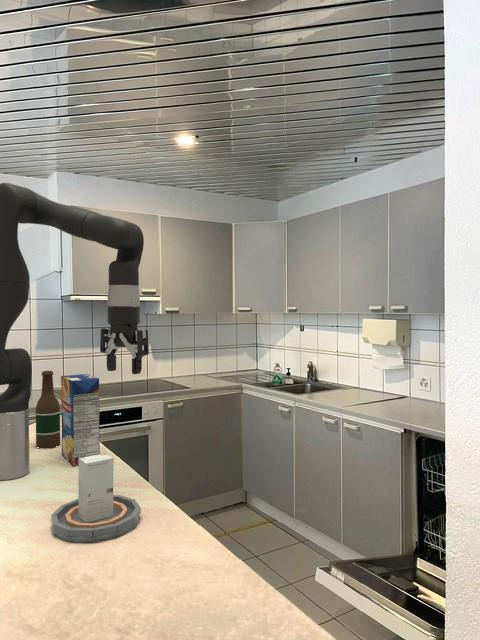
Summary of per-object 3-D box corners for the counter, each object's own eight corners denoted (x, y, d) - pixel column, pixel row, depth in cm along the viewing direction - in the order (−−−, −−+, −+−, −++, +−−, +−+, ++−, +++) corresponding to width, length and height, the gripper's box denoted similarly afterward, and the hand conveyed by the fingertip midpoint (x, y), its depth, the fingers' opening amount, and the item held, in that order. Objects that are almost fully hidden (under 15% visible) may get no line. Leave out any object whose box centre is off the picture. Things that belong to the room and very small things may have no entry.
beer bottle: (55, 449, 149) (54, 372, 149) (30, 449, 150) (29, 372, 149) (65, 442, 157) (64, 369, 157) (41, 442, 157) (40, 369, 157)
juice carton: (61, 456, 142) (60, 375, 142) (87, 452, 147) (86, 373, 146) (73, 467, 132) (72, 380, 132) (99, 462, 137) (99, 378, 136)
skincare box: (85, 524, 95) (84, 463, 94) (77, 516, 98) (76, 458, 98) (115, 516, 98) (114, 457, 98) (106, 508, 102) (105, 452, 102)
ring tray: (34, 528, 96) (34, 516, 95) (101, 499, 110) (101, 489, 110) (91, 551, 86) (91, 538, 86) (156, 517, 101) (156, 505, 100)
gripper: (91, 304, 115) (91, 371, 116) (132, 304, 107) (133, 376, 108) (115, 304, 122) (115, 368, 122) (156, 304, 114) (156, 373, 114)
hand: (123, 372), depth 115 cm, fingers open, 8 cm apart
